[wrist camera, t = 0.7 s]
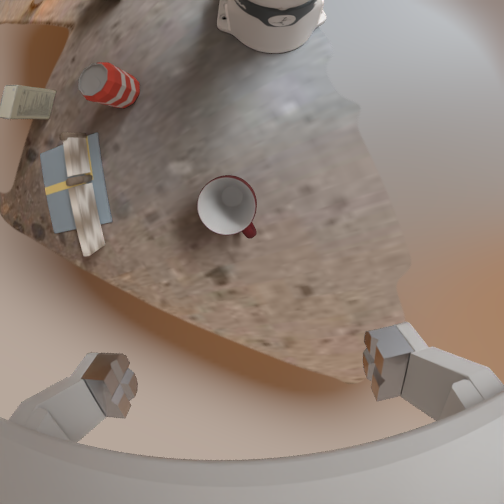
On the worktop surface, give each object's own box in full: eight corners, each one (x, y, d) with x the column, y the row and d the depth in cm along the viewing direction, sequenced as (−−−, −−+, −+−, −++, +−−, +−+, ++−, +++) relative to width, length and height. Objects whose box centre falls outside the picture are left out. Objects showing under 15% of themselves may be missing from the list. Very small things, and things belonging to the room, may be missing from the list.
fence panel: (86, 184, 47) (68, 188, 41) (92, 182, 47) (74, 186, 41) (99, 245, 51) (83, 256, 45) (105, 244, 51) (89, 255, 45)
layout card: (41, 153, 46) (39, 154, 46) (97, 132, 45) (96, 132, 45) (55, 233, 51) (54, 233, 51) (112, 221, 50) (111, 222, 50)
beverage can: (123, 115, 44) (88, 107, 33) (104, 93, 43) (68, 82, 31) (147, 91, 43) (118, 76, 32) (128, 70, 41) (96, 52, 30)
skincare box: (43, 89, 42) (5, 83, 30) (57, 90, 42) (18, 83, 30) (35, 119, 44) (-4, 117, 32) (49, 121, 44) (9, 119, 32)
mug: (276, 210, 49) (280, 223, 40) (239, 240, 51) (236, 260, 42) (234, 162, 47) (228, 163, 37) (198, 194, 49) (184, 203, 39)
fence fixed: (80, 134, 45) (59, 133, 38) (86, 132, 45) (65, 131, 38) (87, 182, 48) (66, 187, 41) (93, 180, 48) (72, 185, 41)
